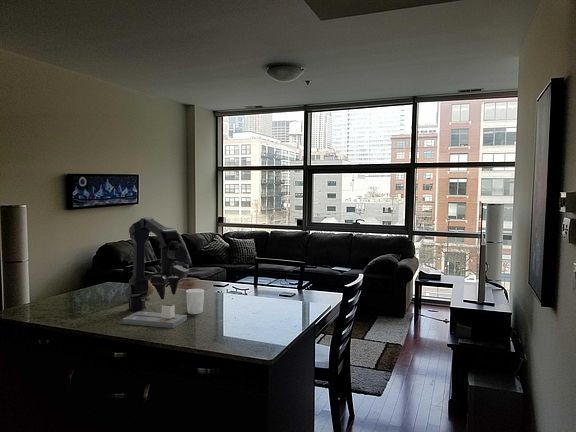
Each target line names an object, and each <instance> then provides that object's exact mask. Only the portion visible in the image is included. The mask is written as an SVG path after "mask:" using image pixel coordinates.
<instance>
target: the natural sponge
mask: <svg viewBox="0 0 576 432" xmlns="http://www.w3.org/2000/svg"><path fill="white" fill-rule="evenodd" d="M148 286H149V288H148V294H147V296H144V299H145V300H146V298H148V297H149V296H151V295H152V294H153V293H154V291H155V287H154V285H152V283H150V279H148Z"/></svg>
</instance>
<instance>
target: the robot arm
mask: <svg viewBox="0 0 576 432" xmlns="http://www.w3.org/2000/svg"><path fill="white" fill-rule="evenodd" d="M150 233H152V234H154V235H155V236H156V240H157V241H158V242H159V243H160V244H159V246H158V248H159V249H160V261H159V262H158V266H160V271H159V272H158V274H154V275H152V276H151V277H150V278H149V279H148V278H147V277H146V276H145V258H146V257H145V255H146V254H145V253H146V243H147V241H148V239H149V238H150ZM128 234H129V239H130V240H131V241H132V243H133V250H132V251H133V252H132V253H133V259H132V260H133V261H132V263H133V264H132V265H133V266H132V275H131V277H130V279H128V286H127V288H126V289H125V292H124V296H125V298H127V299H128V308H126V311H131V312H139V311H141V312H142V311H143V310H145V309H147V306H146V298H145V299H144V296H147V294H148V288H149V286H148V280H149V281H150V283H152V285H153V287H154V289H155V290H156V292H157V294H158V296H159V297H160V300H164V299H165V295H166V287H167V286H168V285H169V287H170V292H171V293H172V295H173V296H174V295H176V293H177V289H178V285H179V282H180V281H181V280H183V279H185V278H187V277H188V274H190V272H191V271H190V265H189V264H184V265H179V263H183V262H185V261H186V260H187V258H188V251H187V249H186V248H184V245H183V243H182V240H181V238H180V235H179V232H178V230H177V229H175V228H174V227H173V228H172V227H168V226H165V225H163V224H161V223H159V222H158V221H156V220H155V219H154V218H153V217H141V218H140V219H139V220H137V221H136V222H134V223H132V224H131V226H129V229H128Z"/></svg>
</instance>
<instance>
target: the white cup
mask: <svg viewBox="0 0 576 432" xmlns="http://www.w3.org/2000/svg"><path fill="white" fill-rule="evenodd" d="M185 292H186V295H185V296H186V306H187V308H186V309H187V314H190V315H200V314H202V313H203V311H204V310H203V309H204V302H205V301H204V299H205V297H204V295H205V290H204V289H203V288H191V289H190V288H189V289H187V290H186V291H185Z"/></svg>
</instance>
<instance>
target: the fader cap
mask: <svg viewBox="0 0 576 432" xmlns="http://www.w3.org/2000/svg"><path fill="white" fill-rule="evenodd" d="M175 306H176V305H175V304H171V303H170V304H169V303H163V304H162V305H161V313H162V318H167V319H171V318H173V317H175V314H176V313H175V310H176V309H175Z"/></svg>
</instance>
